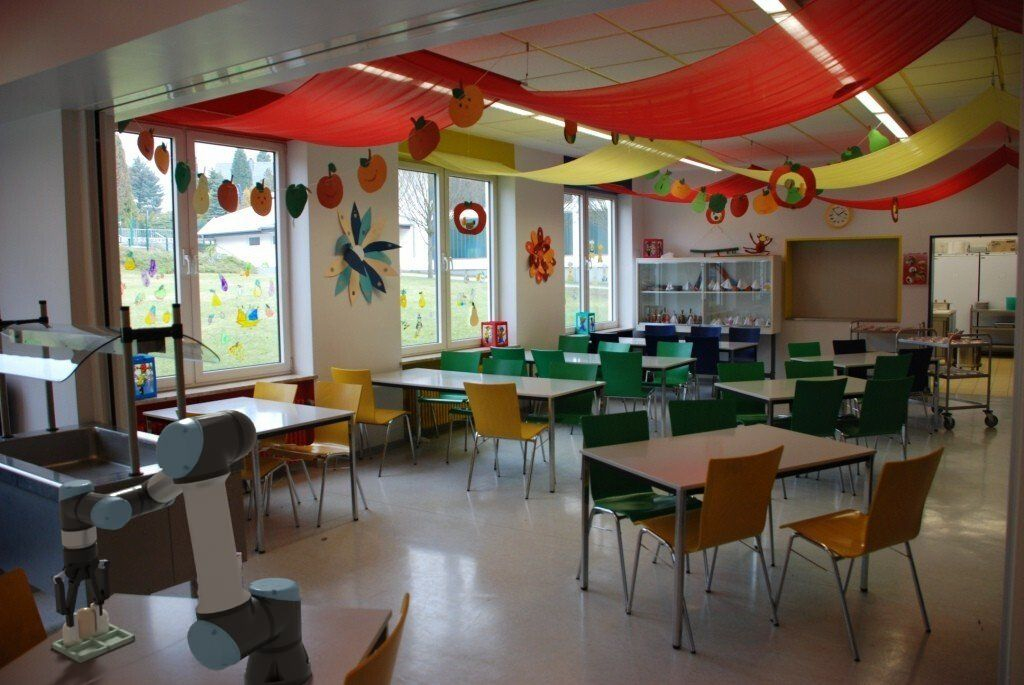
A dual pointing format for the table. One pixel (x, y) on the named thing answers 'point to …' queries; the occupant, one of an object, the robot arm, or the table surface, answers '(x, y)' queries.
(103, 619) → the cream egg
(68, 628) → the cream egg
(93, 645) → the egg tray
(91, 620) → the brown egg
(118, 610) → the table surface
